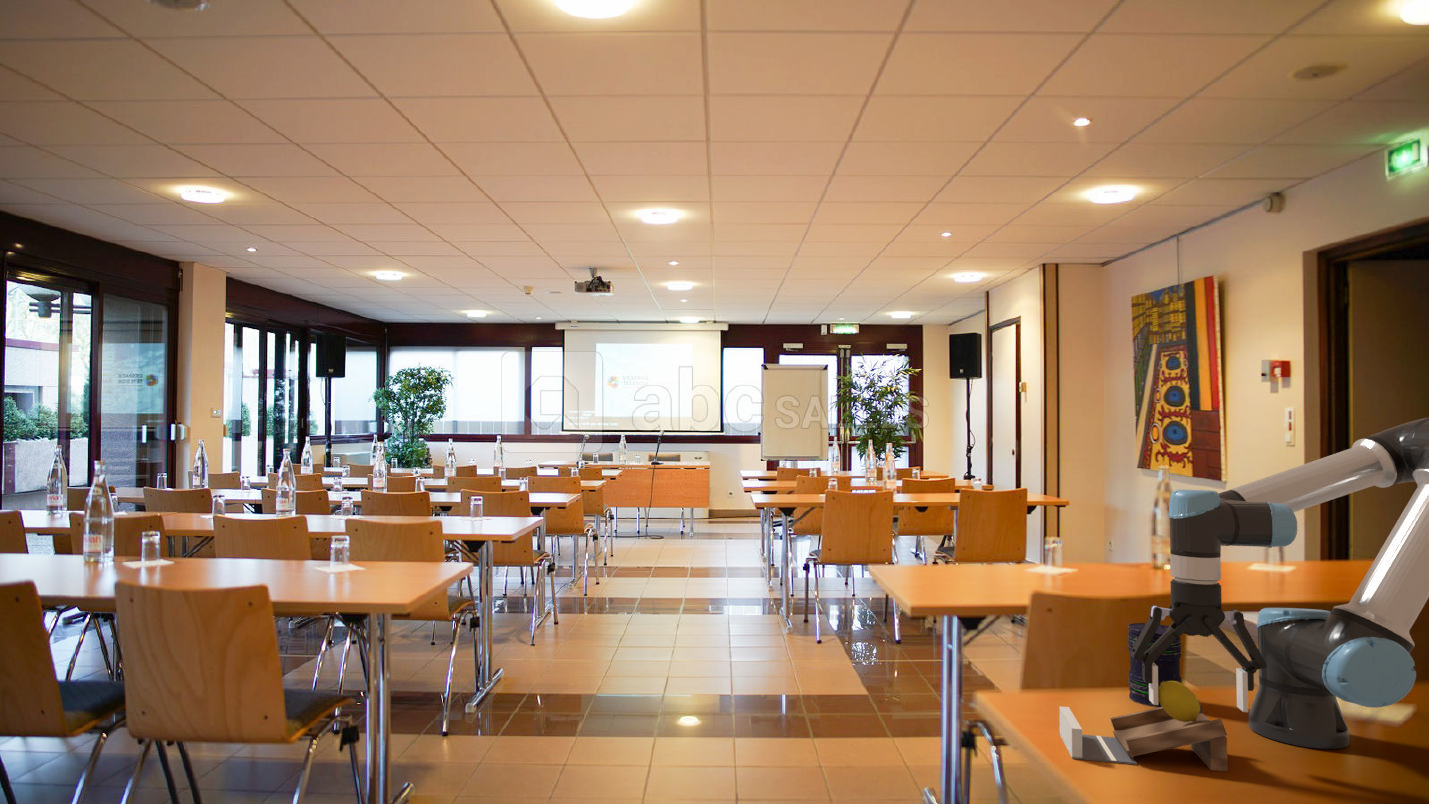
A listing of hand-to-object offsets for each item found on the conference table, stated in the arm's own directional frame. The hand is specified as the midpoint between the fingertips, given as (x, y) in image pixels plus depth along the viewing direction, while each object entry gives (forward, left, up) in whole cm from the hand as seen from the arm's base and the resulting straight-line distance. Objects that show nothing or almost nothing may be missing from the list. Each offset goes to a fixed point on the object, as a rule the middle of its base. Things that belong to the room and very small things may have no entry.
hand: (1197, 706), depth 138 cm
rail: (+20, 0, -9) cm, 22 cm away
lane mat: (+16, 0, -9) cm, 18 cm away
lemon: (0, 0, -3) cm, 3 cm away
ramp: (+5, 0, -9) cm, 10 cm away
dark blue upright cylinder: (-2, -33, -9) cm, 34 cm away
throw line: (+14, 0, -9) cm, 17 cm away
